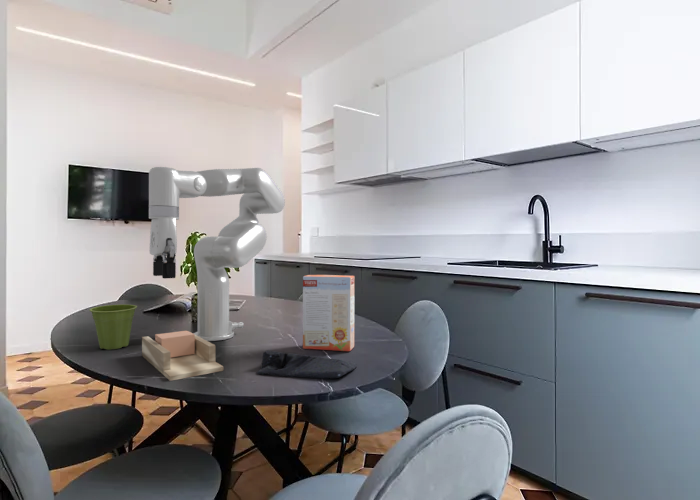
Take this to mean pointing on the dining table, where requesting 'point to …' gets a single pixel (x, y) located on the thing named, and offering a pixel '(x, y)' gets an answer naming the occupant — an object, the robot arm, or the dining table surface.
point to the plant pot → (113, 325)
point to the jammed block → (177, 342)
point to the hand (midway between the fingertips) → (164, 276)
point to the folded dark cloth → (303, 365)
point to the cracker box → (328, 312)
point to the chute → (181, 359)
